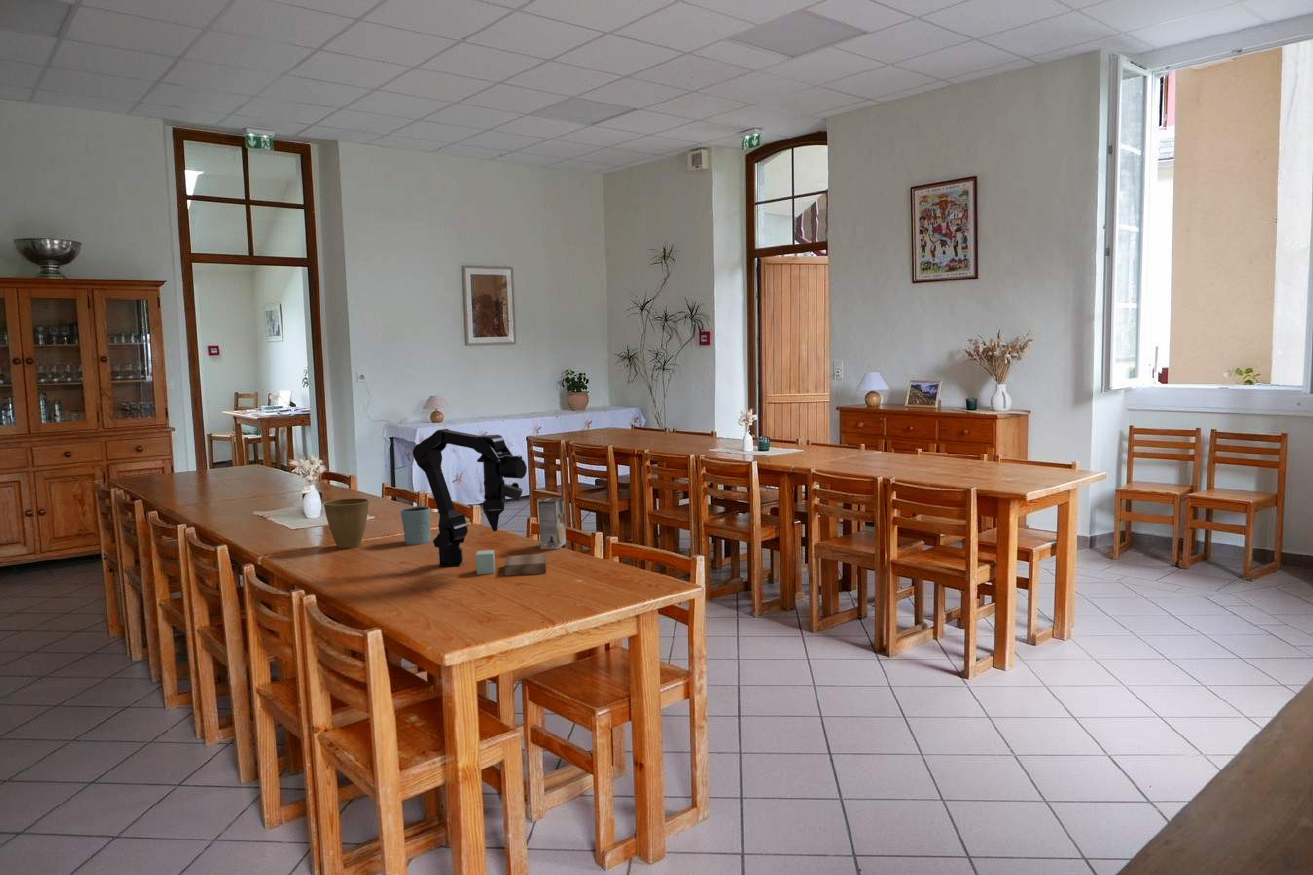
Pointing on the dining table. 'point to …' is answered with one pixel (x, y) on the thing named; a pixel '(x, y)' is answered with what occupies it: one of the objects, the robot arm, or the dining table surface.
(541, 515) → the coffee box
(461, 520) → the robot arm
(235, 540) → the dining table surface
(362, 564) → the dining table surface
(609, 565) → the dining table surface
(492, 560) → the sage block
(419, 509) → the blue-grey cup
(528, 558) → the grayish brown panel
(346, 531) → the plant pot
